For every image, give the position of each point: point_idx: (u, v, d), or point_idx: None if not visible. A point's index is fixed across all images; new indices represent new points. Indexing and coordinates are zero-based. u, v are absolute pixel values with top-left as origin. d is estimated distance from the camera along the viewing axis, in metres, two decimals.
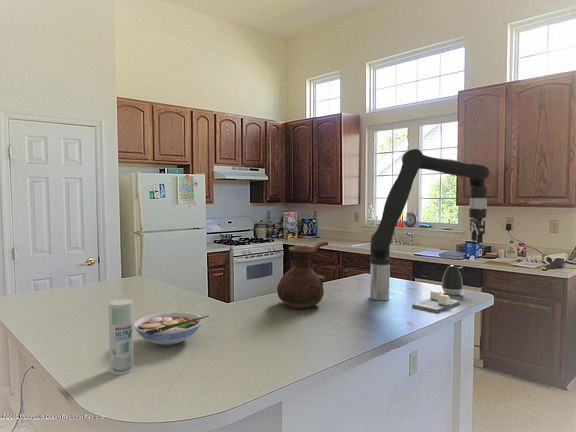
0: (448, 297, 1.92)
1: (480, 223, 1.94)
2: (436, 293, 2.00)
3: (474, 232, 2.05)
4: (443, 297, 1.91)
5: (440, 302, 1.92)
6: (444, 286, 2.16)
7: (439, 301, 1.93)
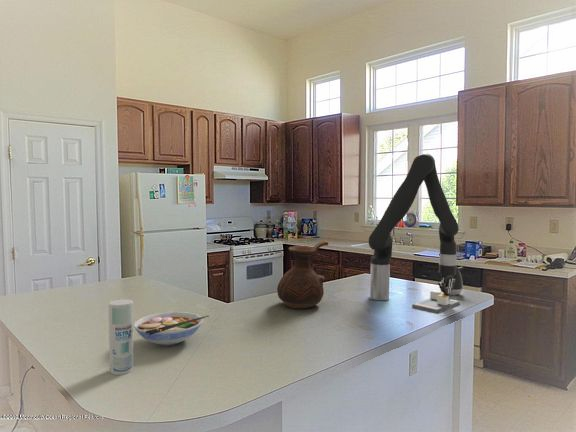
0: (447, 297, 1.91)
1: None
2: (436, 293, 2.00)
3: None
4: (442, 297, 1.91)
5: (439, 302, 1.92)
6: None
7: (439, 301, 1.92)
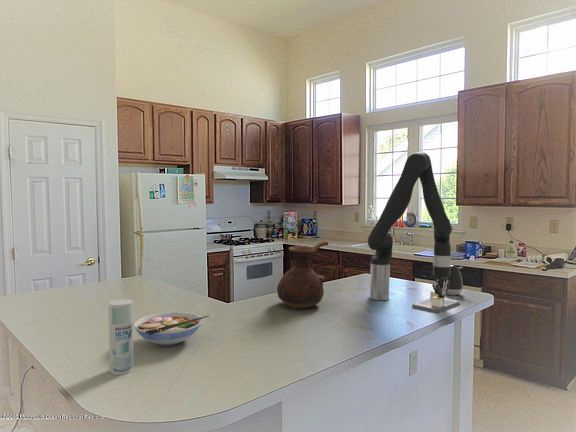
0: (442, 299, 1.87)
1: None
2: None
3: None
4: (436, 299, 1.87)
5: (433, 304, 1.88)
6: None
7: (433, 303, 1.88)
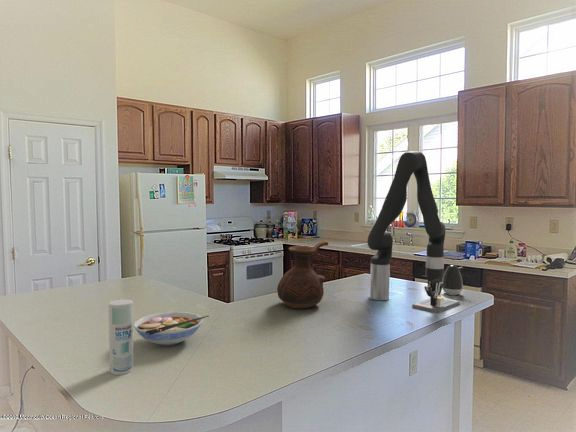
0: (442, 299, 1.88)
1: None
2: None
3: None
4: (437, 299, 1.87)
5: None
6: (444, 286, 2.16)
7: None
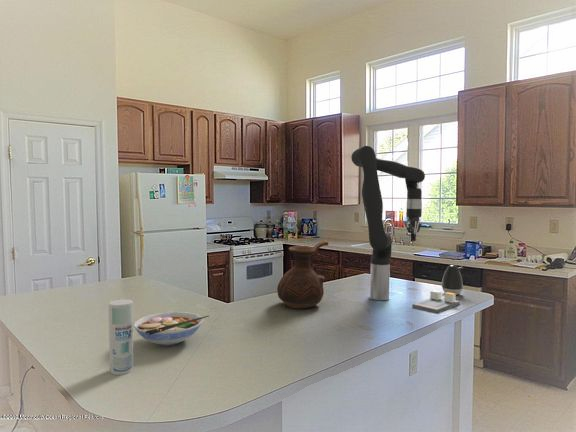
0: (454, 295, 1.96)
1: None
2: (436, 293, 2.00)
3: None
4: (449, 295, 1.95)
5: (446, 300, 1.97)
6: (444, 286, 2.16)
7: (446, 299, 1.97)
